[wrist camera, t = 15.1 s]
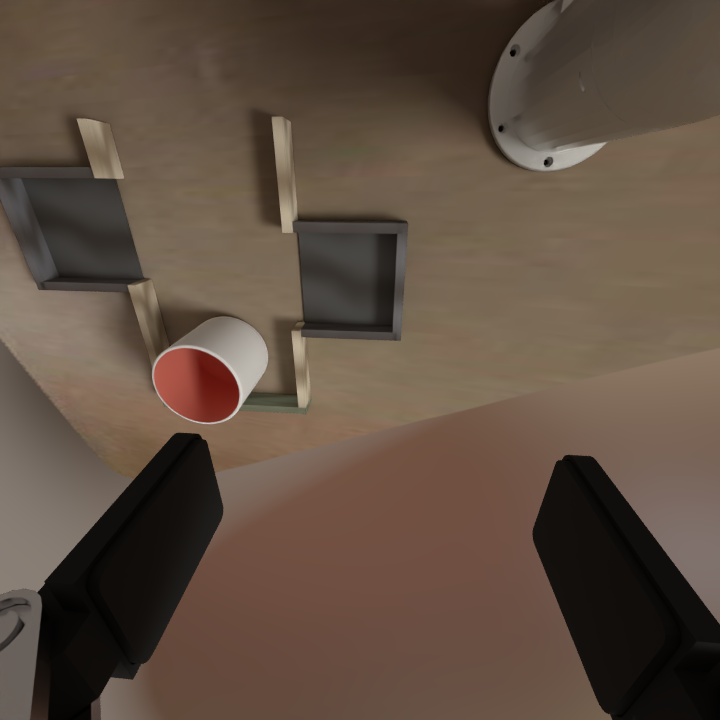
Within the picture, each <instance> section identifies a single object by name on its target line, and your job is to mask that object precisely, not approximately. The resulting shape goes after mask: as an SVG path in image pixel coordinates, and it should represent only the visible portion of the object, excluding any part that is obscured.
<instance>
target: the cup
mask: <svg viewBox="0 0 720 720" xmlns="http://www.w3.org/2000/svg"><path fill="white" fill-rule="evenodd" d="M267 363H268V351H267V347H266V345H265V342H264V340H263V339H262V337H261V335H260V334H259V333H258V332H257V331H256V330H255V329H254V328H253V327H252V326H250V325H249V324H248V323H246V322H244V321H242V320H240V319H237V318H233V317H226V316H221V317H215V318H211V319H209V320H206V321H205V322H203V323H202V324H200V325H199V326H198V327H196V328H195V329H193V330H192V331H191V332H189V333H188V334H186V335H185V336H184V337H182V338H181V339H180V340H178V341H177V342H175V343H174V344H173V345H171V346H170V347H168V348H167V349H166V350H164V351H163V352H162V353H161V354H160V355H159V356H158V357H157V358H156V360H155V362H154V364H153V368H152V381H153V385H154V387H155V390H156V392H157V394H158V396H159V397H160V399H161V400H162V401H163V402H164V404H165V405H166V406H167V407H168V408H170V409H171V410H172V411H173V412H175V413H176V414H178V415H179V416H181V417H183V418H185V419H187V420H190V421H193V422H196V423H202V424H216V423H221V422H224V421H226V420H228V419H230V418H231V417H233V416H234V415H235V414H236V413H237V411H238V410H239V409H240V407H241V406H242V404H243V403H244V401H245V400H246V398H247V397H248V395H249V394H250V393H251V391H252V390H253V388H254V387H255V385H256V384H257V382H258V381H259V379H260V378H261V376H262V375H263V374H264V372H265V370H266V367H267Z"/></svg>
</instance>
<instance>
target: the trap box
mask: <svg viewBox="0 0 720 720" xmlns="http://www.w3.org/2000/svg"><path fill="white" fill-rule="evenodd" d="M77 122H78V125H79V128H80V132H81V135H82V138H83V141H84V145H85V148H86V151H87V155H88V158H89V161H90V164H91V167H0V200H1V202H2V204H3V207H4V209H5V211H6V214H7V216H8V218H9V221H10V223H11V226H12V228H13V230H14V233H15V235H16V237H17V240H18V242H19V244H20V247H21V249H22V251H23V254H24V256H25V258H26V261H27V263H28V266H29V268H30V270H31V273H32V275H33V277H34V280H35V282H36V284H37V287H38V289H39V290H62V291H99V292H130V296H131V299H132V302H133V306H134V309H135V312H136V315H137V319H138V322H139V325H140V329H141V332H142V335H143V338H144V342H145V345H146V348H147V351H148V355H149V358H150V361H151V365H152V368H153V364H154V362H155V360H156V358H157V357H158V356H159V355H160V354H161V353H162V352H163V351H164V350H166V349H167V348H168V347H170V346H169V342H168V338H167V335H166V331H165V327H164V323H163V320H162V316H161V312H160V309H159V305H158V301H157V298H156V294H155V290H154V286H153V283H152V279H144V278H143V274H142V271H141V267H140V263H139V260H138V256H137V253H136V249H135V246H134V242H133V238H132V235H131V231H130V228H129V224H128V221H127V217H126V214H125V210H124V206H123V203H122V199H121V196H120V192H119V189H118V185H117V181H116V179H124V175H123V172H122V168H121V164H120V161H119V157H118V153H117V150H116V146H115V142H114V138H113V135H112V131H111V127H110V124H108V123H104V122H99V121H95V120H90V119H77ZM272 126H273V137H274V147H275V158H276V169H277V180H278V191H279V201H280V212H281V223H282V233H293V232H298V233H299V247H300V261H301V275H302V288H303V302H304V316H305V322H297V323H296V325H295V326H294V328H293V329H292V342H293V353H294V364H295V375H296V385H297V395H286V394H265V393H250V394H249V395H248V397H247V398H246V400H245V401H244V403H243V404H242V406H241V407H240V409H239V411H258V412H277V413H297V414H307V411H308V408H309V406H310V403H311V394H310V380H309V366H308V352H307V338H306V337H311V338H339V339H367V340H395V341H401V327H402V311H403V295H404V279H405V263H406V247H407V231H408V223H407V221H331V220H298V213H297V199H296V185H295V172H294V158H293V144H292V130H291V122H290V121H288V120H287V119H285V118H284V117H272ZM163 404H164V402H163ZM164 407H167V406H166V405H165V404H164Z"/></svg>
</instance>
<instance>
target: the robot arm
mask: <svg viewBox="0 0 720 720" xmlns="http://www.w3.org/2000/svg"><path fill="white" fill-rule="evenodd" d="M510 51H514V53H515V55H514V57H511V55H510ZM719 114H720V0H555V1H553V2H550V3H549V4H547V5H546V6H544V7H543V8H541V9H540V10H539V11H537V12H536V13H534V14H533V15H532V16H531V17H530V18H529V19H528V20H527V21H526V22H525V23H524V24H523V25H522V26H521V27H520V28H519V30H518V31H517V32H516V33H515V34H514V36H513V37H512V38H511V40H510V41H509V43H508V45H507V46H506V48H505V49H504V51H503V52H502V54H501V56H500V59H499V61H498V63H497V65H496V67H495V70H494V73H493V77H492V80H491V83H490V88H489V95H488V120H489V125H490V130H491V133H492V136H493V138H494V140H495V143H496V145H497V146H498V148H499V149H500V151H501V152H502V154H503V155H504V156H506V157H507V158H508V159H509V160H510V161H511V162H512V163H514V164H516V165H518V166H519V167H521V168H524V169H527V170H531V171H539V172H549V171H557V170H561V169H565V168H569V167H571V166H574V165H576V164H578V163H580V162H582V161H584V160H586V159H587V158H589V157H590V156H592V155H593V154H595V153H596V152H597V151H598V150H599V149H601V148H602V147H603V146H604V145H605V144H606V143H607V142H609V141H613V140H618V139H623V138H628V137H632V136H637V135H642V134H646V133H651V132H656V131H661V130H665V129H670V128H675V127H679V126H682V125H687V124H691V123H695V122H699V121H702V120H705V119H709V118H711V117H714V116H717V115H719ZM499 126H502V128H503V130H502V132H499V131H498V128H499ZM544 160H547V164H546V165H544ZM222 516H223V504H222V500H221V496H220V492H219V488H218V484H217V480H216V476H215V472H214V468H213V464H212V460H211V456H210V452H209V448H208V444H207V441H206V440H203V439H202V438H201V436H200V435H199V434H192V433H176V434H174V435H173V436H172V437H171V438H170V439H169V441H168V442H167V443H166V444H165V445H164V446H163V447H162V448H161V450H160V451H159V452H158V453H157V454H156V455H155V456H154V458H153V459H152V460H151V461H150V462H149V463H148V464H147V466H146V467H145V468H144V469H143V470H142V471H141V472H140V473H139V475H138V476H137V477H136V478H135V479H134V480H133V481H132V483H131V484H130V485H129V486H128V487H127V488H126V489H125V491H124V492H123V493H122V494H121V495H120V496H119V497H118V499H117V500H116V501H115V502H114V503H113V504H112V505H111V506H110V508H109V509H108V510H107V511H106V512H105V513H104V515H103V516H102V517H101V518H100V519H99V520H98V521H97V523H95V525H94V526H93V527H92V528H91V529H90V530H89V532H88V533H87V534H86V535H85V536H84V537H83V538H82V539H81V541H80V542H79V543H78V544H77V545H76V546H75V547H74V549H73V550H72V551H71V552H70V553H69V554H68V555H67V556H66V558H65V559H64V560H63V561H62V562H61V563H60V564H59V566H58V567H57V568H56V569H55V570H54V571H53V572H52V573H51V575H50V576H49V577H48V578H47V579H46V580H45V584H44V586H43V587H42V588H41V589H40V590H39V591H38V592H36V591H34V590H29V589H20V590H12V591H9V592H7V593H4V594H1V595H0V720H101V708H100V707H101V706H100V695H101V693H102V691H103V689H104V687H105V686H106V684H107V682H108V681H109V679H110V677H114V678H124V679H133V678H134V677H135V675H136V673H137V671H138V669H139V667H140V665H141V664H144V663H146V662H147V661H148V660H149V659H150V657H151V656H152V654H153V652H154V650H155V649H156V646H157V645H158V643H159V641H160V639H161V637H162V635H163V633H164V631H165V629H166V627H167V625H168V623H169V621H170V619H171V617H172V615H173V613H174V611H175V609H176V607H177V605H178V603H179V602H180V600H181V598H182V596H183V594H184V592H185V590H186V588H187V586H188V584H189V582H190V580H191V578H192V576H193V574H194V572H195V570H196V568H197V566H198V564H199V562H200V560H201V558H202V556H203V555H204V553H205V551H206V549H207V547H208V545H209V543H210V541H211V539H212V537H213V535H214V533H215V531H216V529H217V527H218V525H219V523H220V521H221V519H222ZM533 541H534V544H535V547H536V549H537V552H538V554H539V557H540V559H541V562H542V564H543V567H544V569H545V572H546V574H547V577H548V579H549V582H550V584H551V586H552V589H553V592H554V594H555V597H556V599H557V602H558V604H559V606H560V609H561V612H562V614H563V616H564V619H565V621H566V624H567V626H568V629H569V631H570V634H571V636H572V639H573V641H574V644H575V646H576V649H577V651H578V654H579V656H580V659H581V661H582V664H583V666H584V669H585V671H586V674H587V676H588V678H589V681H590V683H591V686H592V688H593V691H594V693H595V696H596V698H597V700H598V702H599V705H600V706H601V708H602V709H603V710H604V712H606V713H608V714H610V715H611V717H612V720H720V624H719V623H718V622H717V620H716V619H715V618H714V616H713V615H712V614H711V612H710V611H709V610H708V608H707V607H706V606H705V605H704V603H703V602H702V601H701V599H700V598H699V596H698V595H697V594H696V592H695V591H694V590H693V588H692V587H691V586H690V584H689V583H688V582H687V580H686V579H685V578H684V576H683V575H682V574H681V572H680V571H679V570H678V568H677V567H676V566H675V564H674V563H673V562H672V561H671V559H670V558H669V556H668V555H667V554H666V552H665V551H664V550H663V549H662V547H661V546H660V545H659V543H658V542H657V540H656V539H655V538H654V537H653V535H652V534H651V533H650V531H649V530H648V529H647V527H646V526H645V525H644V523H643V522H642V521H641V519H640V518H639V517H638V515H637V514H636V513H635V511H634V510H633V509H632V507H631V506H630V505H629V503H628V502H627V501H626V499H625V498H624V497H623V495H622V494H621V493H620V491H619V490H618V489H617V488H616V486H615V485H614V483H613V482H612V481H611V479H610V478H609V477H608V475H606V473H605V471H604V470H603V469H602V467H601V466H600V465H599V464H598V462H597V461H596V460H595V459H594V458H593V457H591V456H578V455H566V456H564V457H563V459H562V460H558V461H557V462H556V464H555V467H554V470H553V473H552V476H551V479H550V482H549V484H548V487H547V490H546V493H545V496H544V499H543V502H542V505H541V507H540V511H539V514H538V516H537V519H536V522H535V525H534V528H533Z"/></svg>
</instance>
